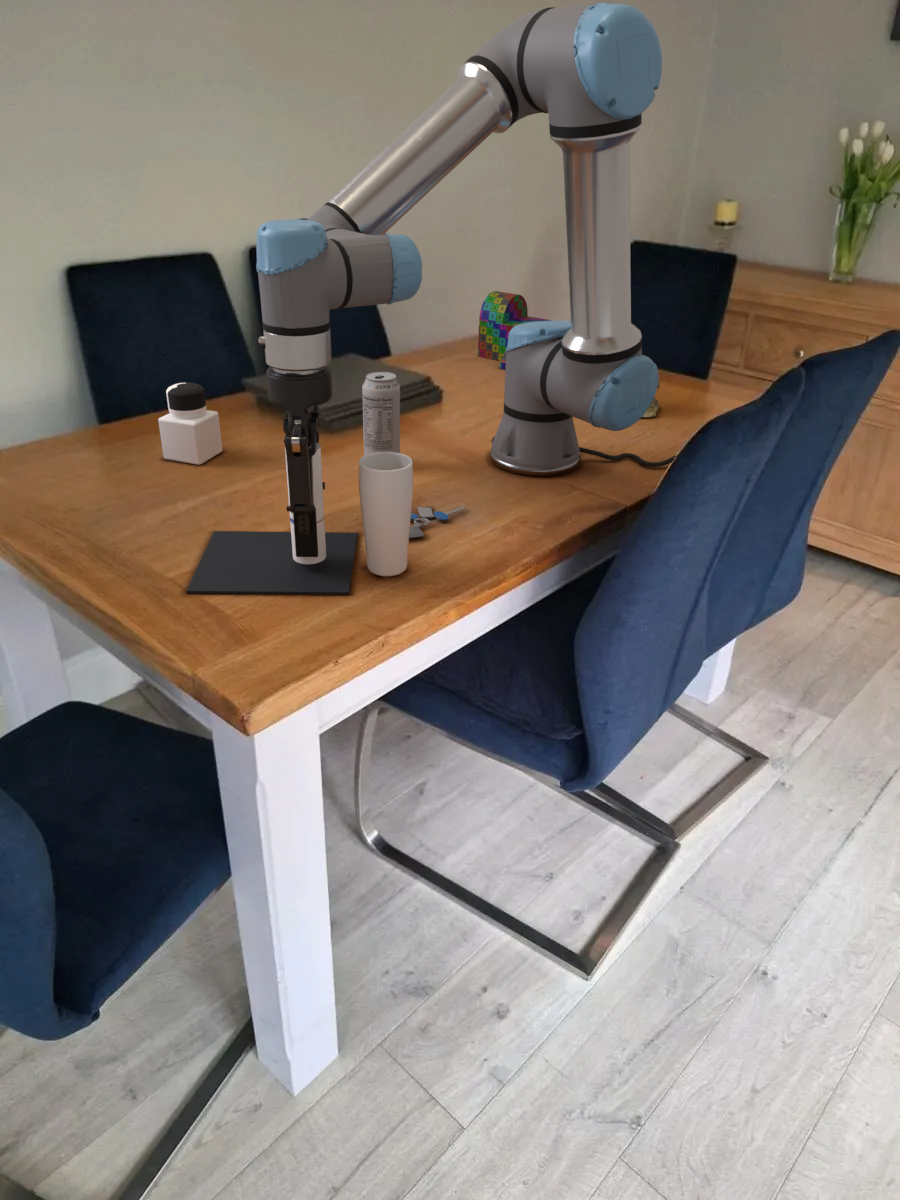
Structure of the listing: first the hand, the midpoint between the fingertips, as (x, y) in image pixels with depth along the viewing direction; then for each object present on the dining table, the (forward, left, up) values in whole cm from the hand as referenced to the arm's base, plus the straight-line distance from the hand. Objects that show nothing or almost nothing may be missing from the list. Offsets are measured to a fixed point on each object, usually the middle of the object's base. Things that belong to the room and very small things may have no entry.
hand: (309, 546), depth 113 cm
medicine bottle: (+24, -40, -3) cm, 47 cm away
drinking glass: (-10, 0, -3) cm, 11 cm away
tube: (0, 0, -2) cm, 2 cm away
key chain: (-14, -15, -3) cm, 21 cm away
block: (-40, -103, -3) cm, 111 cm away
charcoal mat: (+4, -2, -3) cm, 6 cm away
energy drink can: (-8, -37, -3) cm, 38 cm away
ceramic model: (-56, -70, -3) cm, 90 cm away
